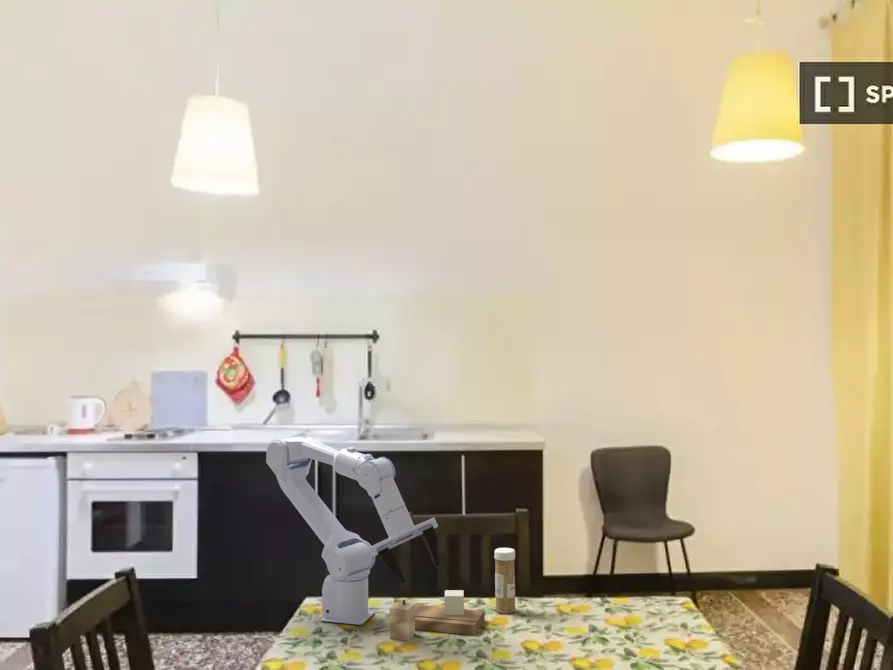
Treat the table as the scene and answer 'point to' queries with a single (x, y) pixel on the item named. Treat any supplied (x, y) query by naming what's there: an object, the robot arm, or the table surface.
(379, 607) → the table surface
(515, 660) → the table surface
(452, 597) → the offcut block
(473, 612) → the plank
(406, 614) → the block
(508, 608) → the sprinkles bottle
